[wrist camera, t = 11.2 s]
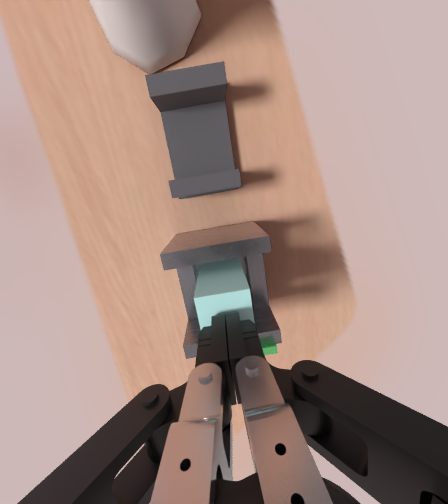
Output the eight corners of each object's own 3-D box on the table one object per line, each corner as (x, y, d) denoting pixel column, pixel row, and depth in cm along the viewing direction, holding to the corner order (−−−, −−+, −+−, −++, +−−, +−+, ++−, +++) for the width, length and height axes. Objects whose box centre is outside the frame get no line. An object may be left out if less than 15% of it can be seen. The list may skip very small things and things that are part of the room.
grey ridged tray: (158, 94, 18) (144, 71, 14) (221, 83, 18) (223, 57, 14) (180, 198, 20) (172, 201, 17) (237, 188, 20) (241, 189, 17)
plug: (201, 255, 20) (192, 298, 12) (236, 249, 20) (250, 288, 12) (210, 301, 21) (207, 366, 13) (243, 295, 21) (260, 357, 13)
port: (176, 234, 21) (157, 256, 14) (253, 221, 21) (271, 237, 14) (194, 314, 23) (186, 368, 16) (263, 303, 23) (284, 351, 16)
